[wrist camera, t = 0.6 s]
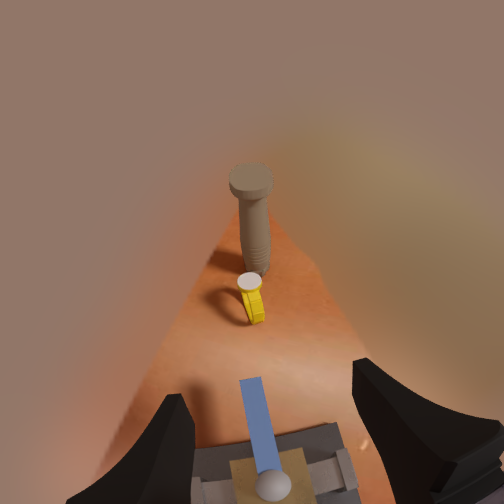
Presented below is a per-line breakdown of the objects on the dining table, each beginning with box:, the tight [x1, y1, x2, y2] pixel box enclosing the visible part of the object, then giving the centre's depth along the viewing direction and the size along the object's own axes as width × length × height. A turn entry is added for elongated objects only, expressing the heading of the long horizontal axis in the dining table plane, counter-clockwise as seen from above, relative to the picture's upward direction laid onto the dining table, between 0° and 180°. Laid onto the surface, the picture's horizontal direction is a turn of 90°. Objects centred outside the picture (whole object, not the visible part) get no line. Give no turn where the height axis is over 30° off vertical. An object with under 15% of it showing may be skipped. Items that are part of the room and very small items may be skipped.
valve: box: [191, 422, 361, 504], centre depth 21 cm, size 11×15×7 cm
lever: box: [239, 377, 291, 502], centre depth 22 cm, size 11×3×2 cm, turn 10°
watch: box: [237, 272, 265, 325], centre depth 37 cm, size 6×3×6 cm, turn 17°
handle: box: [229, 163, 273, 277], centre depth 40 cm, size 5×6×15 cm
